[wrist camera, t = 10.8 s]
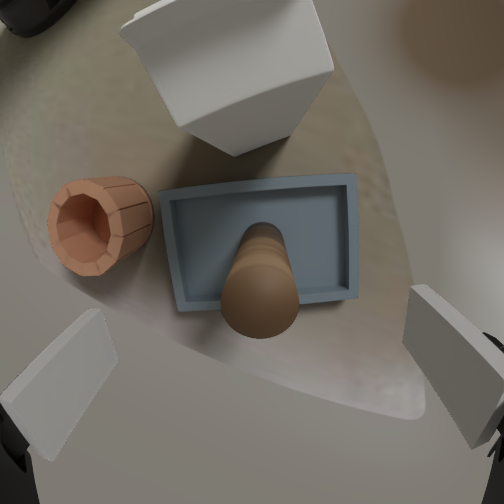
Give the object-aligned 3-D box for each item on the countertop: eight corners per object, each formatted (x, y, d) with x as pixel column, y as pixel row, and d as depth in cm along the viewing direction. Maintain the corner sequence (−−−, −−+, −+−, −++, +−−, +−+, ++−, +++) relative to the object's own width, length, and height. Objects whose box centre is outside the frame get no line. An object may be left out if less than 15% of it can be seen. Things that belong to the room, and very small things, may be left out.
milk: (291, 135, 27) (367, 39, 6) (233, 158, 28) (144, 118, 6) (267, 81, 26) (272, -86, 4) (209, 103, 26) (97, -22, 5)
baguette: (239, 223, 28) (215, 270, 15) (282, 220, 28) (297, 264, 14) (243, 264, 29) (225, 340, 16) (285, 261, 29) (300, 335, 15)
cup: (84, 184, 29) (42, 190, 22) (149, 171, 28) (114, 171, 21) (95, 256, 31) (58, 277, 24) (160, 250, 30) (130, 273, 23)
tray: (167, 189, 29) (158, 191, 26) (348, 173, 27) (356, 173, 25) (184, 300, 32) (178, 311, 29) (350, 287, 30) (358, 298, 28)
